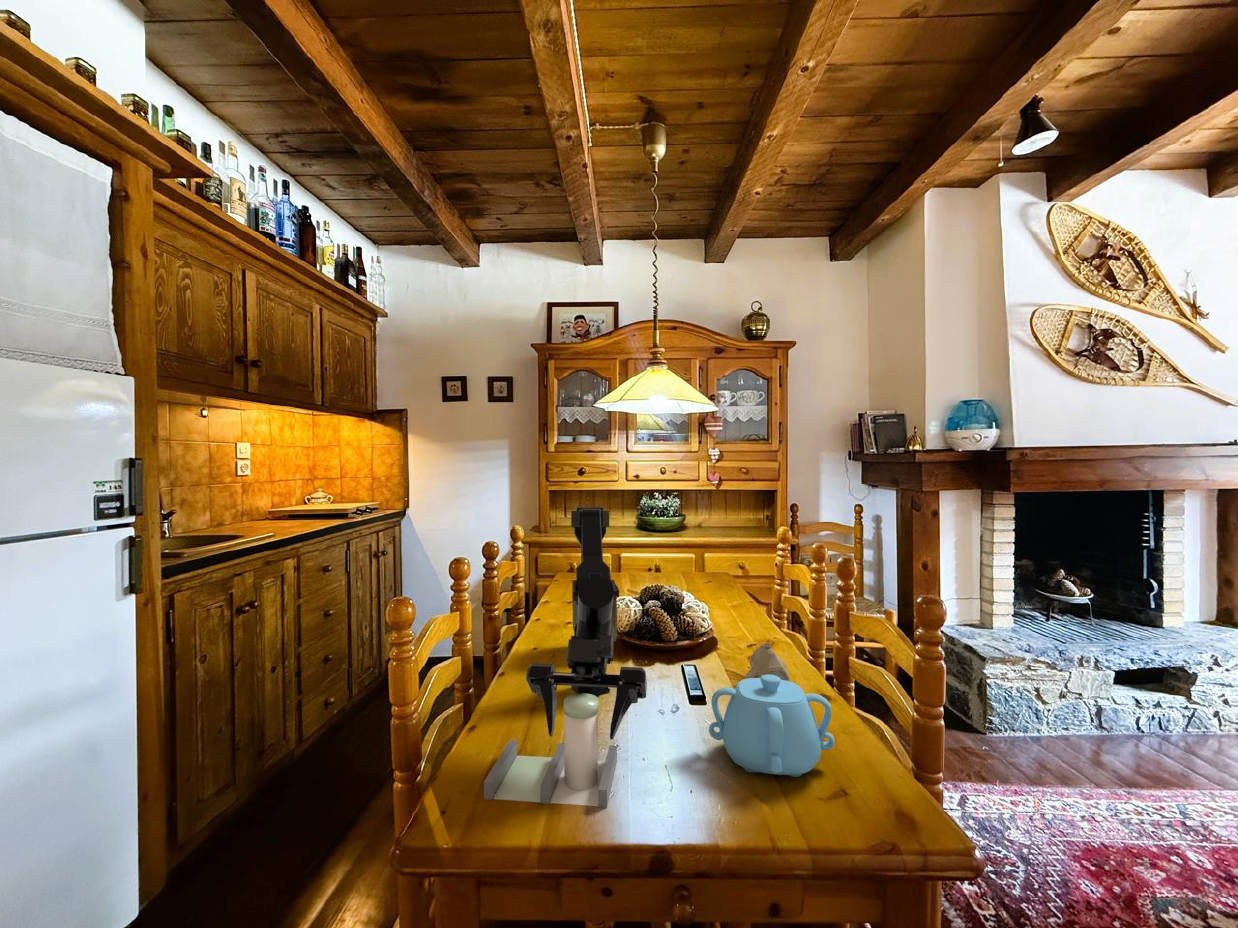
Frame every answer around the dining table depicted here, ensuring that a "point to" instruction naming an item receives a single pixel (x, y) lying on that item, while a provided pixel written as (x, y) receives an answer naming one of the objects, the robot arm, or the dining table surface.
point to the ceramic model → (767, 664)
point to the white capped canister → (581, 741)
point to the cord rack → (545, 779)
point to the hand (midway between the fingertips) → (580, 736)
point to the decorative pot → (771, 726)
